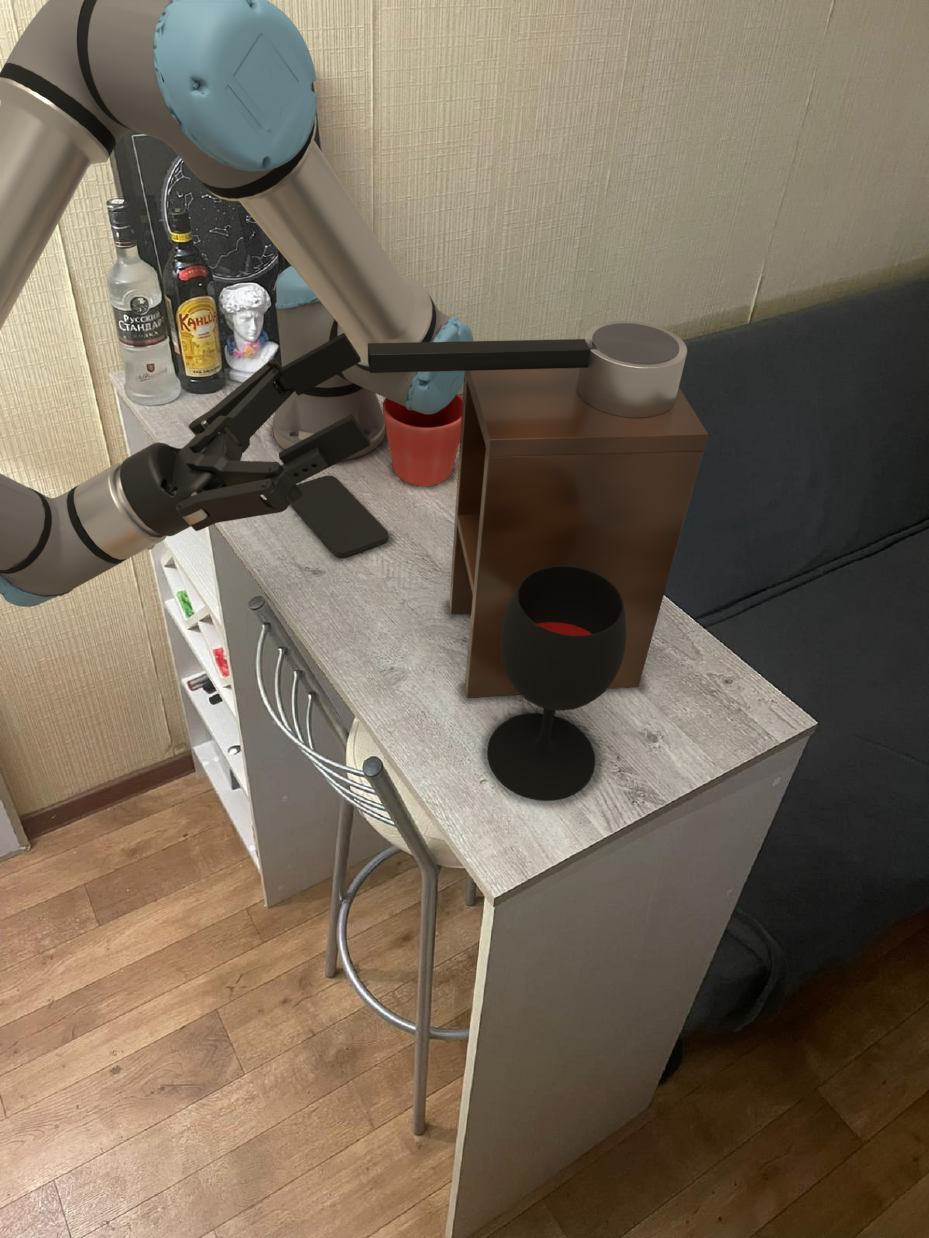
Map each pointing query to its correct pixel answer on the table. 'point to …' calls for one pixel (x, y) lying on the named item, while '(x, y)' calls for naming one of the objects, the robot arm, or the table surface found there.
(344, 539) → the phone
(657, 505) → the shelf
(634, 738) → the table surface
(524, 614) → the wine glass
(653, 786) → the table surface
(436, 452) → the flower pot
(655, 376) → the pan
